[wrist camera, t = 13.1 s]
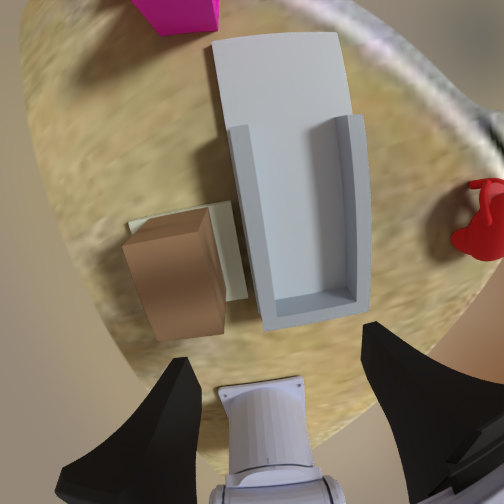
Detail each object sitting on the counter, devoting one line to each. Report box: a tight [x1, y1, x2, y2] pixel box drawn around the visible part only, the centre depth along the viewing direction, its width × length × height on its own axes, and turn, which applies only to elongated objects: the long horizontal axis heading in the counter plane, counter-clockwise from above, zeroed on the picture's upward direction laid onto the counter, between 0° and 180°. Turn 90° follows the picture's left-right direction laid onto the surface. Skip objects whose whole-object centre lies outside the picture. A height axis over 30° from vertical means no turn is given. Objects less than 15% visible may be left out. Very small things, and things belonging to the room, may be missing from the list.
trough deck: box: [211, 32, 371, 332], centre depth 17 cm, size 19×8×3 cm, turn 9°
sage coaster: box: [128, 200, 248, 301], centre depth 19 cm, size 7×7×1 cm
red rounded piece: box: [451, 178, 504, 261], centre depth 17 cm, size 8×6×6 cm
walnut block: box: [122, 207, 227, 341], centre depth 17 cm, size 6×4×5 cm, turn 9°
